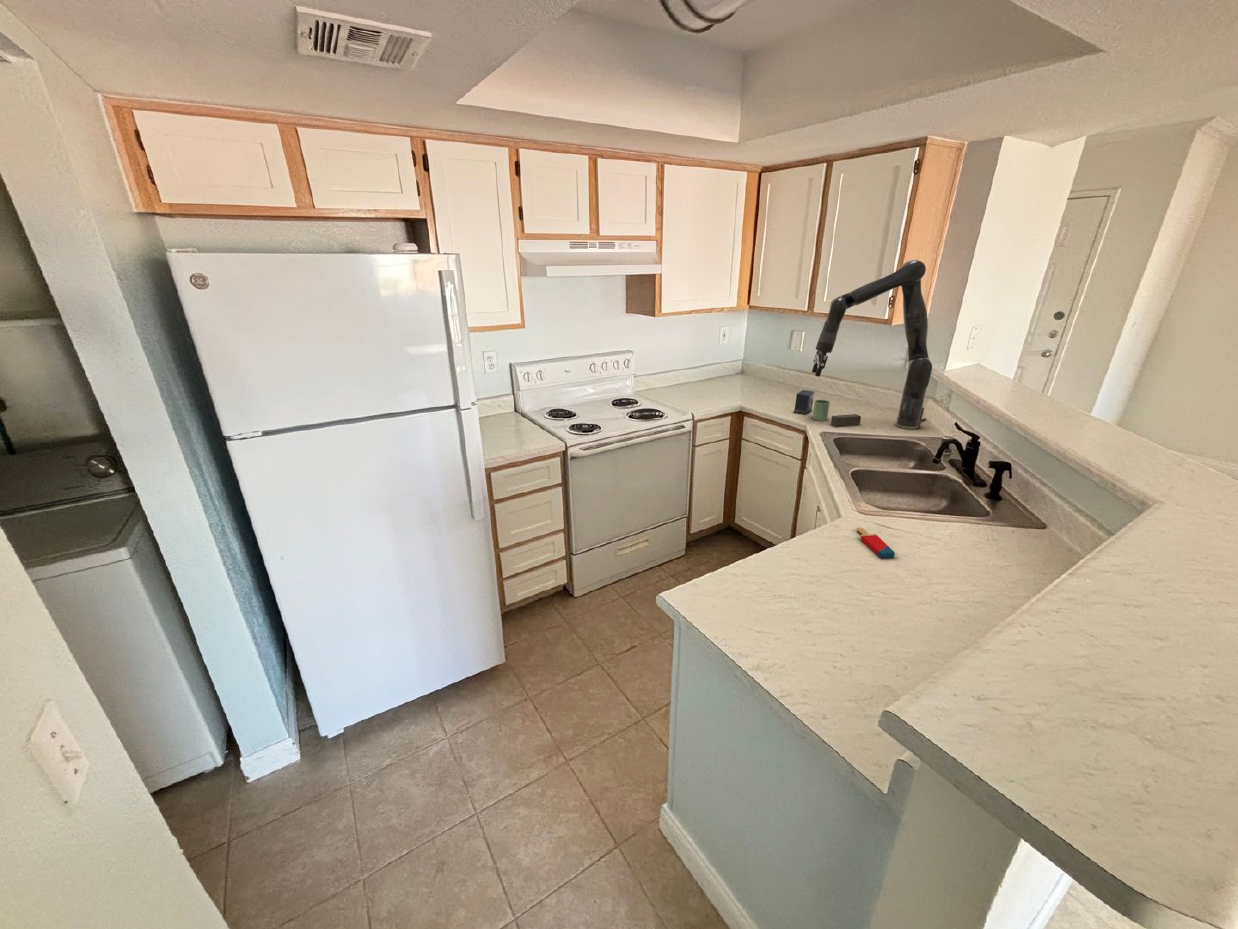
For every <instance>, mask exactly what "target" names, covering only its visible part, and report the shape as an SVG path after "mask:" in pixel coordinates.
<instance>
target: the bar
mask: <svg viewBox="0 0 1238 929" xmlns="http://www.w3.org/2000/svg"><path fill="white" fill-rule="evenodd" d="M861 420H862V416H861V415H859V414H856V413H849V414H839V415H832V416H831V420H830V425H831V426H833V427H835V428H840V427H841V428H842V427H853V426H860V425H861Z"/></svg>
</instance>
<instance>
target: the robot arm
mask: <svg viewBox="0 0 1238 929" xmlns="http://www.w3.org/2000/svg"><path fill="white" fill-rule="evenodd" d="M926 271H927V267H926V265H925V263H924V262H923V261H921V260H917V259H912V260H908V261H906V262H904V263H903V264H902V265H901V266H900V268H899V269H897V270H896V271H894V272H892V273H891V274H888V275H885V276H884V277H882V278H879V279H875V280H874V281H871V282H868V283H866V284H864V285H862V286H860V287H857V288H855V289H853V290H852V291H850V292H847V293H844V294H842V295H840V296H837V297H835V298H833V299H831V301H830V303H829V311H828V314H827V317H826V319H825V321H824V323H823V326H822V329H821V332H820V334H819V337H818V340H817V342H816V346H815V350H816V353H815V356H814V359H813V360H812V361H813V366H812V368H811V369H812V370H811V373H812V374H813V373H814V374H815V377H821V375H822V371H823V370H824V369H825V367H826V365H827V361H828V358H829V356H828V355H827V354H832V352H833V349H834V347H835V343H836V341H837V338H838V337H837V336H838V334H839V330H840V327H841V323H842V321H843V319H844V316H845V314H846V312H847V310H848V309H850V308H852V307H855V306H859V305H861V304H862V305H863V304H864V303H866V302H868V301H870V300H873V299H874V298H877V297H879V296H881V295H883V294H885V293H886V292H887V293H888V292H889V291H891V290H893V289H897V288H899V287H900V288H901V293H902V316H903V327H904V333H905V339H906V342H907V349H908V350H907V354H908V355H907V356H908V358H907V374H906V380H905V383H904V385H903V390H902V394H901V400H900V404H899V410H898V414H897V417H896V422H895V425H896V427H898V428H901V429H907V430H916V429H918V428H920V427H921V424H922V422H924V421H927V418H926V417H924V418H923V415H924V410H925V407H924V403H925V397H926V393H927V390H928V387H929V384H930V379H931V376H932V372H933V364H932V361H931V360H930V356H929V351H928V346H927V340H928V339H927V338H928V332H929V320H928V319H929V318H928V310H927V306H926V303H925V302H926V301H925V299H924V297H923V296H924V295H923V293H922V279H923V277H924V276H925V274H926Z"/></svg>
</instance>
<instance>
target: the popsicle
mask: <svg viewBox="0 0 1238 929" xmlns="http://www.w3.org/2000/svg"><path fill="white" fill-rule="evenodd" d="M856 531H857V532H858V533H859V534H860V536H859V540H860V541H861V542H862V543H864V544H865V545H866V546H867V547H868V548H869V549H870V550H871V551H872V552H873V553H874V554H875V555H876V556H878V557H879V558H880V559H889V558H891V559H892V558H895V555H896V552H895V551H894V550H893V549H892V547H890V546H889V545H888V544H887V543H886V542H885V541H884V540H883V539H882V538H881V537H880V536H879V535H878V534H876V533H868V532H867V530H866V529H864V528H863V527H856Z"/></svg>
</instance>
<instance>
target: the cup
mask: <svg viewBox="0 0 1238 929" xmlns="http://www.w3.org/2000/svg"><path fill="white" fill-rule="evenodd" d="M830 404H831V402H830V400H827V399H815V400H814V405H813V412H812V419H813V420H815V421H819V422H822V421H823V422H824V421H828V418H829V410H830Z"/></svg>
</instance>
